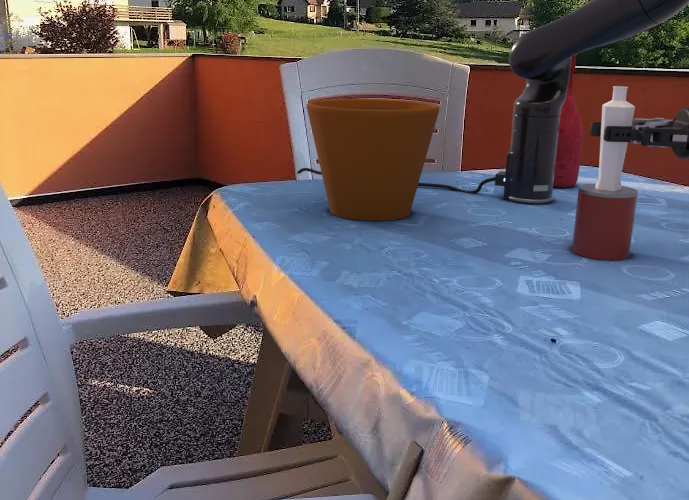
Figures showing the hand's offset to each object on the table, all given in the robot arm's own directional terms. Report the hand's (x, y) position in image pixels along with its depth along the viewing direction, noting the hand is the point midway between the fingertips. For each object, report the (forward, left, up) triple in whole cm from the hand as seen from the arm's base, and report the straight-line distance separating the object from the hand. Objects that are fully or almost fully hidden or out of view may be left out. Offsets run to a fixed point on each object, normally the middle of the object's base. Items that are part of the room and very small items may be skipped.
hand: (598, 131), depth 104 cm
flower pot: (-40, +8, -19) cm, 45 cm away
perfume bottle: (+2, +1, -9) cm, 9 cm away
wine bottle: (-14, +55, -19) cm, 60 cm away
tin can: (+2, +1, -19) cm, 19 cm away
